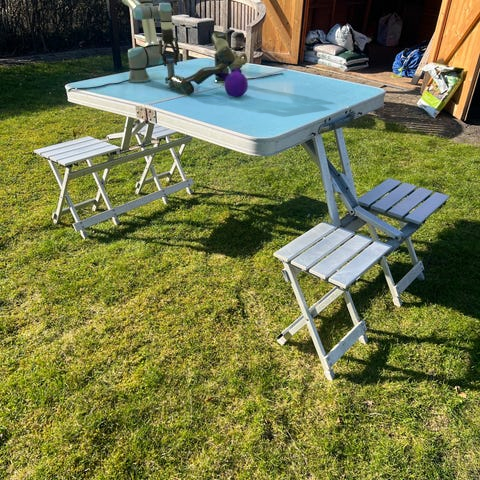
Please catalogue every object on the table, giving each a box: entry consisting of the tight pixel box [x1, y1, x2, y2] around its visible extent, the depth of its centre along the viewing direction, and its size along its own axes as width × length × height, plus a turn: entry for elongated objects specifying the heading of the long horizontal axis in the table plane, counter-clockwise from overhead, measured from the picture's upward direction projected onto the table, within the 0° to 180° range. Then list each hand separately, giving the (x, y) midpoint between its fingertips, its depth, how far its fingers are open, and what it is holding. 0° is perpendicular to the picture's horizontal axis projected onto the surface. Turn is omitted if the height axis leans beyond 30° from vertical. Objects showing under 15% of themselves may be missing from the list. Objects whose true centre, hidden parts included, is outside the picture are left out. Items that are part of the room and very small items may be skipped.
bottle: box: [166, 63, 177, 89], centre depth 313 cm, size 5×5×18 cm
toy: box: [213, 68, 249, 99], centre depth 288 cm, size 16×18×27 cm
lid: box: [166, 58, 174, 64], centre depth 308 cm, size 5×5×2 cm
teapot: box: [228, 50, 248, 71], centre depth 366 cm, size 21×12×15 cm, turn 120°
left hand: (170, 65), depth 310 cm, fingers open, 7 cm apart
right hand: (170, 78), depth 316 cm, fingers closed on bottle, 4 cm apart
